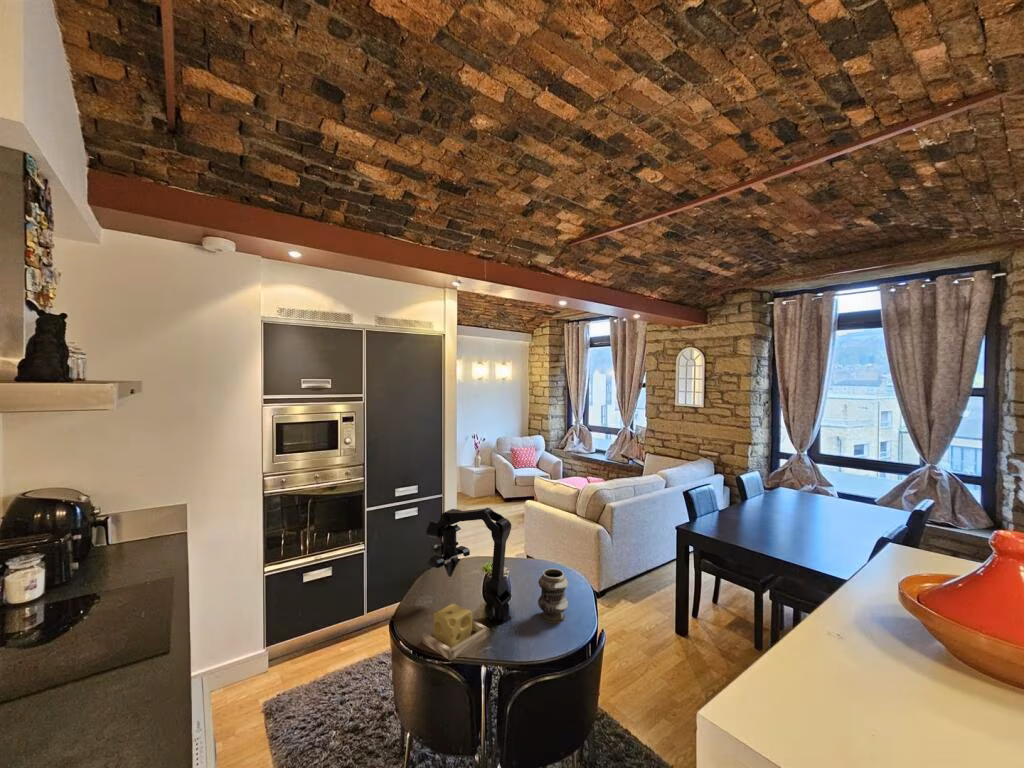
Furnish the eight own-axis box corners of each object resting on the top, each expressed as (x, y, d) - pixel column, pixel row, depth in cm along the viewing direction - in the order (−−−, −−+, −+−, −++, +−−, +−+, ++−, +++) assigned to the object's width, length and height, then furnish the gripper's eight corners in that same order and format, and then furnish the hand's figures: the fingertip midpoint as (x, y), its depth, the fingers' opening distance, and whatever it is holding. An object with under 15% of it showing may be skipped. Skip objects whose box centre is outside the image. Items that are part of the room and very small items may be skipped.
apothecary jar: (555, 628, 167) (555, 582, 167) (531, 617, 176) (531, 572, 175) (573, 616, 176) (573, 572, 176) (550, 605, 184) (550, 563, 184)
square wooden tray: (489, 636, 163) (489, 628, 163) (450, 660, 148) (450, 652, 148) (461, 621, 173) (461, 613, 173) (422, 642, 159) (422, 634, 159)
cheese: (451, 650, 154) (451, 622, 154) (432, 639, 161) (431, 612, 161) (472, 637, 162) (472, 610, 162) (452, 627, 169) (452, 601, 169)
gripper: (453, 530, 198) (453, 564, 198) (420, 541, 184) (420, 578, 184) (470, 535, 191) (470, 571, 191) (436, 548, 177) (437, 586, 177)
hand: (449, 576), depth 186 cm, fingers closed
